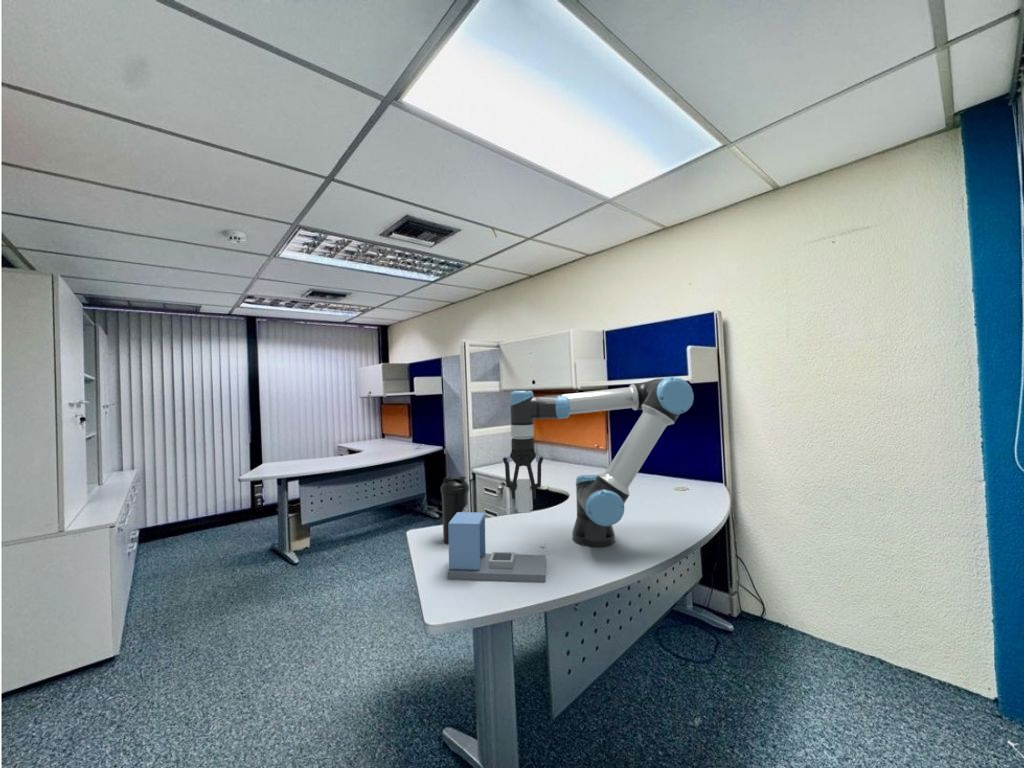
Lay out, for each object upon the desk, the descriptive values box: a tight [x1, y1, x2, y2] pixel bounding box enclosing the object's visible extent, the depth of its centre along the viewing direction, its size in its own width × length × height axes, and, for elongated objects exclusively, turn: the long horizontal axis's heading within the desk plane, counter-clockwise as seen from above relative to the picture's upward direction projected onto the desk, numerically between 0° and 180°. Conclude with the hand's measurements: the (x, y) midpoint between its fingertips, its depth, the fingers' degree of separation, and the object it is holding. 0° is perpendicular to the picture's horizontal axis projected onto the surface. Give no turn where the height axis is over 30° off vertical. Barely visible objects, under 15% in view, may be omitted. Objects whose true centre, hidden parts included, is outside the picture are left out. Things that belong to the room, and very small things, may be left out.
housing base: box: [447, 551, 547, 583], centre depth 120 cm, size 28×14×4 cm, turn 84°
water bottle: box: [440, 475, 470, 546], centre depth 145 cm, size 10×10×23 cm
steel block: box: [516, 478, 531, 514], centre depth 131 cm, size 4×4×10 cm
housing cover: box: [448, 511, 487, 570], centre depth 121 cm, size 9×11×13 cm
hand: (524, 508), depth 131 cm, fingers closed on steel block, 4 cm apart
